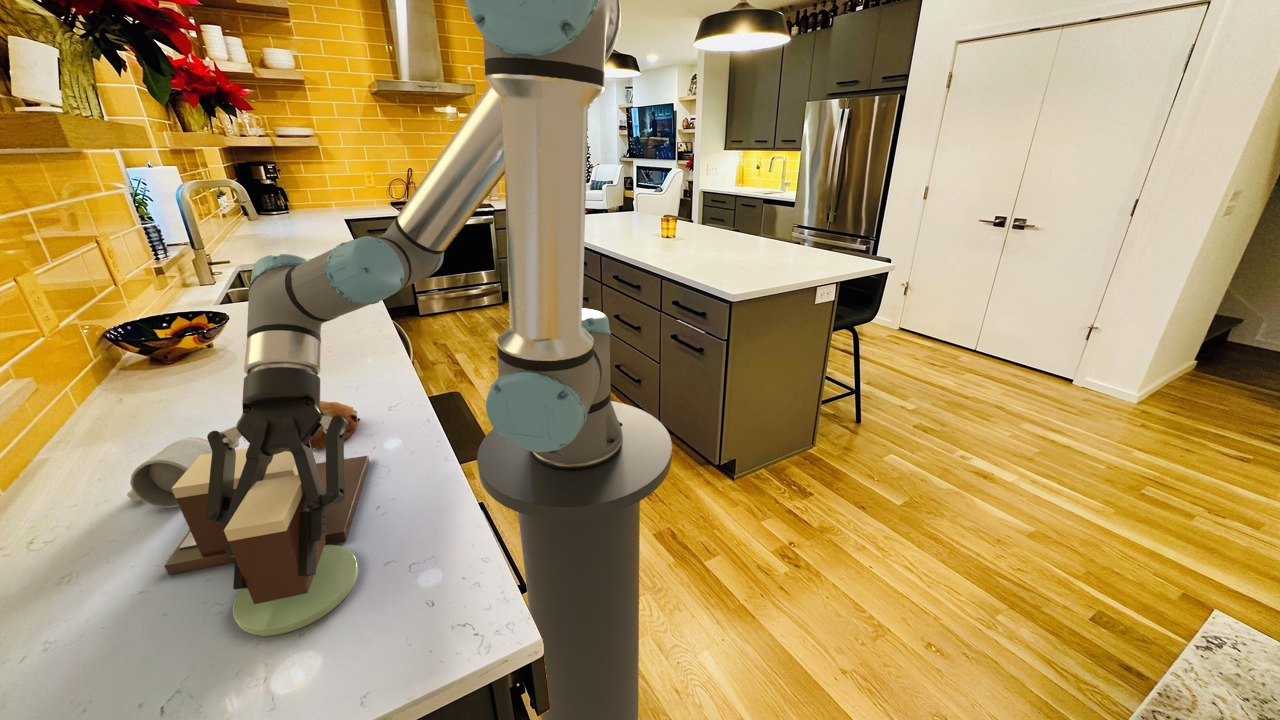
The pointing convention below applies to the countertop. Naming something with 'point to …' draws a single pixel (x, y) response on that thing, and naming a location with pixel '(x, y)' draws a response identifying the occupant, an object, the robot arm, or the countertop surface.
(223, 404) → the countertop surface
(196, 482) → the cake
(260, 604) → the plate
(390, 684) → the countertop surface
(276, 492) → the cake slice
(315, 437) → the bread roll
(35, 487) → the countertop surface
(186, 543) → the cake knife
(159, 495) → the ceramic mug
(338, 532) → the cake board
